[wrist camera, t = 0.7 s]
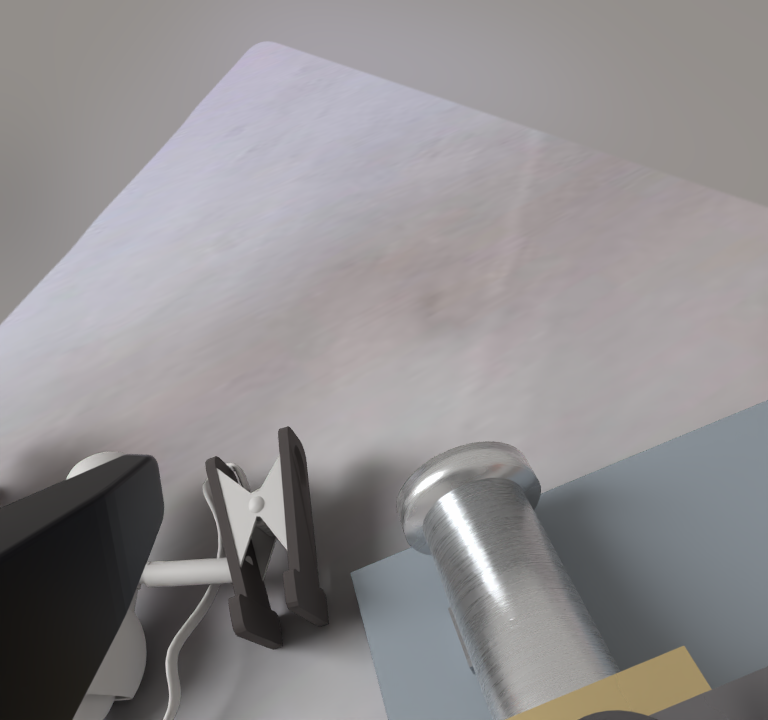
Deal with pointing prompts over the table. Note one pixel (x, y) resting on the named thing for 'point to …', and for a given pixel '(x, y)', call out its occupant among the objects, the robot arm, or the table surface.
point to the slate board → (609, 571)
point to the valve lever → (711, 703)
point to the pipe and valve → (523, 595)
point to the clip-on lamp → (224, 571)
